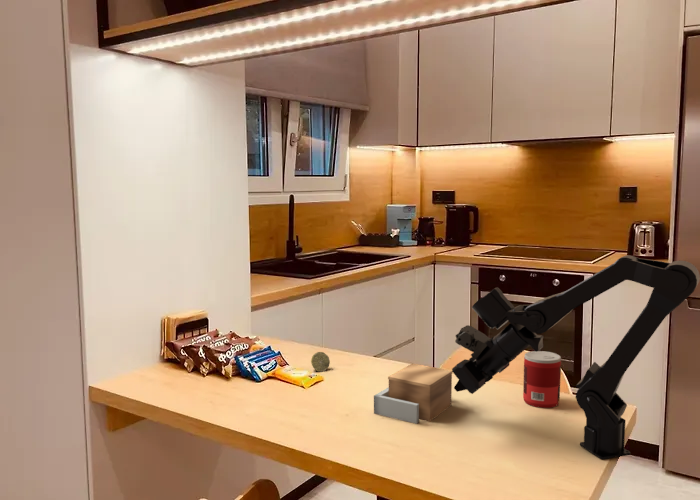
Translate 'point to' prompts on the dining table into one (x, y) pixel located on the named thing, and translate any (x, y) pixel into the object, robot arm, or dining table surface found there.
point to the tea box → (423, 389)
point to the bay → (395, 407)
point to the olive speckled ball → (320, 361)
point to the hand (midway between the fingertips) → (456, 389)
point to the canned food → (542, 379)
